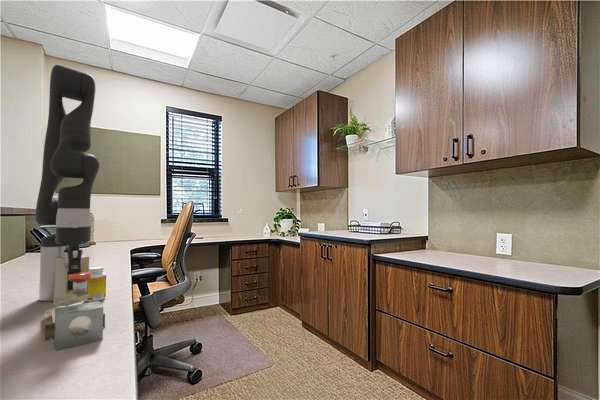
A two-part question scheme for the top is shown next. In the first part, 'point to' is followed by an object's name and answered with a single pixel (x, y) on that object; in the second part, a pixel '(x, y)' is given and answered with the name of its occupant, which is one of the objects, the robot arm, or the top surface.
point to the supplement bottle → (96, 284)
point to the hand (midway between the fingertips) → (71, 286)
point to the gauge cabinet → (78, 325)
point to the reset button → (79, 282)
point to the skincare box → (61, 283)
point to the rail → (50, 325)
